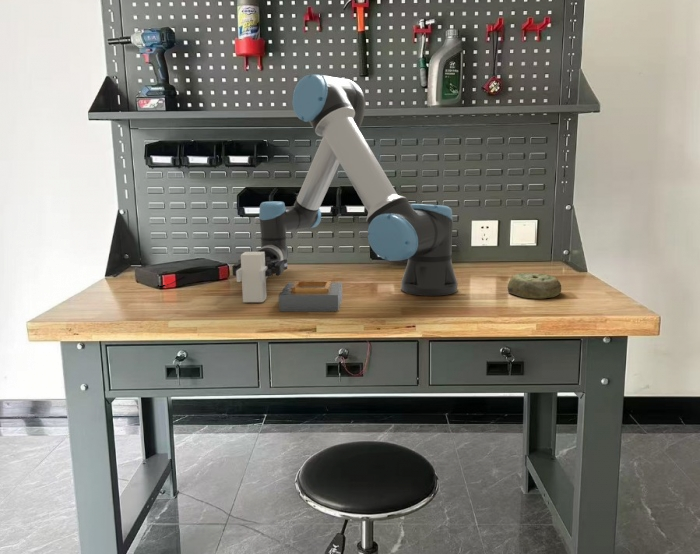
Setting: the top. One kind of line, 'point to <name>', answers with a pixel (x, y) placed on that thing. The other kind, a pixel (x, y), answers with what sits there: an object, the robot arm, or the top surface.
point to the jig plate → (311, 296)
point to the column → (253, 277)
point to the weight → (534, 286)
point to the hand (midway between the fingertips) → (249, 276)
